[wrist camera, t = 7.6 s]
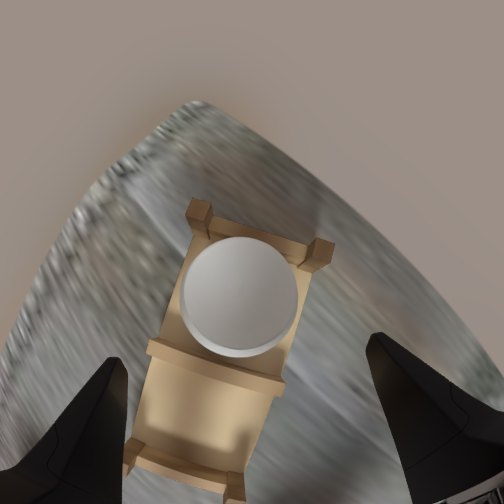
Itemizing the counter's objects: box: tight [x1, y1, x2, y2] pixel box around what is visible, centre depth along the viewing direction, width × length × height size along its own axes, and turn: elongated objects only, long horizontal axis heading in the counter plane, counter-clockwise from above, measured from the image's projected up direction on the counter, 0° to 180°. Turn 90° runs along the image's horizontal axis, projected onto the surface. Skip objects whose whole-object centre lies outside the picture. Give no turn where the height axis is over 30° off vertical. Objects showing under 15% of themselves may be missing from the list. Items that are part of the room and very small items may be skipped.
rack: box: [122, 198, 335, 504], centre depth 16 cm, size 9×19×5 cm, turn 162°
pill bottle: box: [179, 237, 298, 357], centre depth 14 cm, size 5×5×10 cm
